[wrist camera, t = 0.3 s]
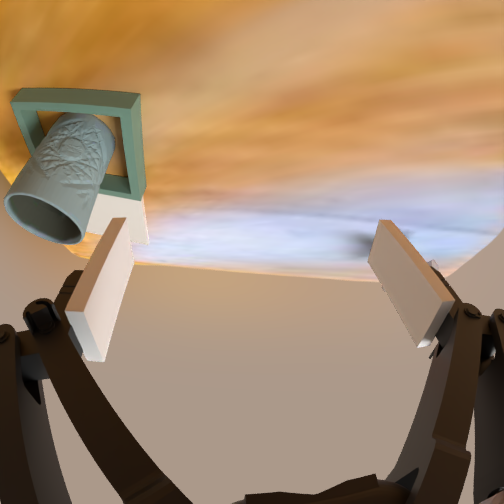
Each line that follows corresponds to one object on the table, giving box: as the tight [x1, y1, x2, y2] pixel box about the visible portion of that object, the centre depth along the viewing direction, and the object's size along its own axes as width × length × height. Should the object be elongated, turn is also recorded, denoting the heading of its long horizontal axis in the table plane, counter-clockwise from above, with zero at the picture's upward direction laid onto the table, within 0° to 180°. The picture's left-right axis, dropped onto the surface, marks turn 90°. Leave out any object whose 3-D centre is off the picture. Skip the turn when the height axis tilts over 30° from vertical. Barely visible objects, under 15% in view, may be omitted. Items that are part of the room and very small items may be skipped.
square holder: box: [10, 88, 146, 201], centre depth 32 cm, size 15×15×2 cm
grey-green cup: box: [4, 112, 115, 245], centre depth 30 cm, size 10×10×12 cm
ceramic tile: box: [86, 193, 149, 245], centre depth 47 cm, size 14×14×1 cm
